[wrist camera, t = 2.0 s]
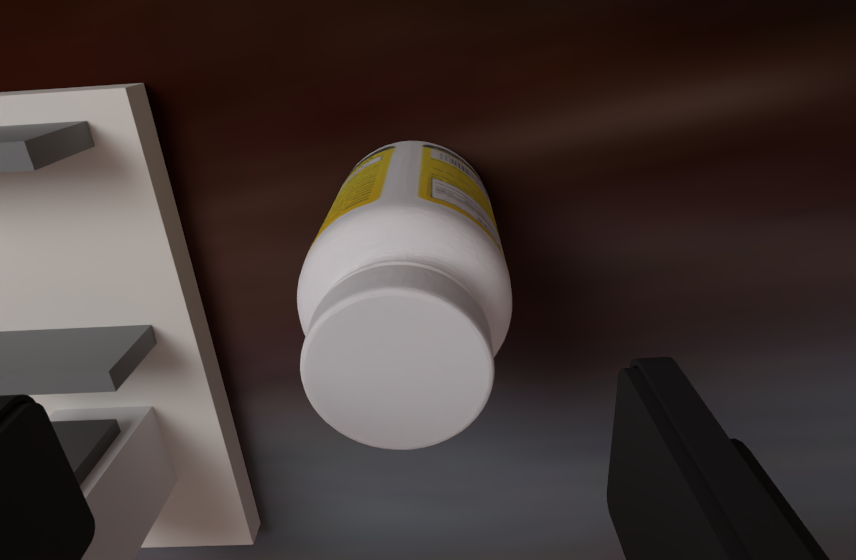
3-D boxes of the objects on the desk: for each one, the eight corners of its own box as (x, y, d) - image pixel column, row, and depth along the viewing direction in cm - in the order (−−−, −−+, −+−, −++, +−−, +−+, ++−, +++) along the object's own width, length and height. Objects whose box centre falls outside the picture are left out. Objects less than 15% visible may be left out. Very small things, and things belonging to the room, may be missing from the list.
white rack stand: (143, 83, 19) (-55, 133, 11) (260, 523, 27) (192, 716, 20) (-121, 100, 19) (-480, 160, 12) (77, 528, 28) (-56, 719, 20)
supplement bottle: (344, 282, 22) (275, 473, 13) (334, 137, 19) (242, 248, 10) (487, 283, 21) (519, 478, 13) (495, 138, 19) (541, 252, 10)
